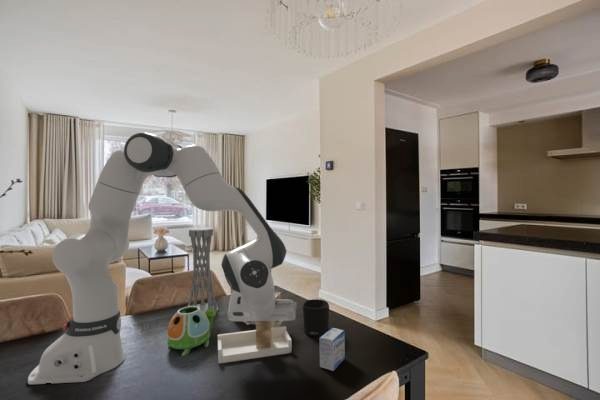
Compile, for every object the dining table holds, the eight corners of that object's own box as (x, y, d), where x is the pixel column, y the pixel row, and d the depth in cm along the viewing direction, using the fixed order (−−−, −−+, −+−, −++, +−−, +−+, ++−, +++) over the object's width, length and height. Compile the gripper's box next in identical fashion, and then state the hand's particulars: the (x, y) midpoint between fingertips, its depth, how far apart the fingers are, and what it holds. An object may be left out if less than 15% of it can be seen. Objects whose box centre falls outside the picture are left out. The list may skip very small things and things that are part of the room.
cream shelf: (218, 363, 90) (218, 346, 90) (217, 350, 97) (217, 334, 97) (291, 352, 96) (291, 336, 96) (285, 340, 103) (285, 326, 103)
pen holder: (297, 331, 111) (297, 303, 111) (316, 323, 117) (316, 297, 117) (315, 340, 104) (315, 310, 104) (334, 332, 110) (334, 304, 110)
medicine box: (333, 372, 85) (333, 340, 85) (319, 367, 87) (319, 337, 87) (345, 359, 92) (345, 330, 92) (331, 355, 94) (331, 326, 94)
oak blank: (256, 347, 95) (255, 315, 95) (257, 341, 99) (257, 310, 99) (270, 347, 95) (270, 315, 95) (271, 341, 99) (271, 310, 99)
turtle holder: (228, 336, 107) (227, 302, 107) (184, 360, 92) (183, 320, 91) (203, 328, 114) (203, 296, 113) (158, 349, 98) (158, 312, 98)
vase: (194, 304, 138) (193, 226, 138) (223, 306, 136) (222, 227, 136) (178, 316, 125) (177, 230, 124) (210, 318, 123) (209, 230, 122)
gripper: (296, 291, 90) (296, 312, 100) (226, 291, 89) (233, 312, 99) (296, 312, 85) (297, 331, 95) (222, 313, 85) (230, 332, 95)
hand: (264, 322), depth 97 cm, fingers open, 8 cm apart
